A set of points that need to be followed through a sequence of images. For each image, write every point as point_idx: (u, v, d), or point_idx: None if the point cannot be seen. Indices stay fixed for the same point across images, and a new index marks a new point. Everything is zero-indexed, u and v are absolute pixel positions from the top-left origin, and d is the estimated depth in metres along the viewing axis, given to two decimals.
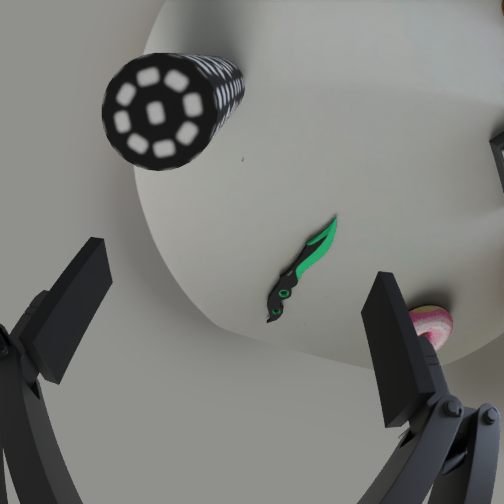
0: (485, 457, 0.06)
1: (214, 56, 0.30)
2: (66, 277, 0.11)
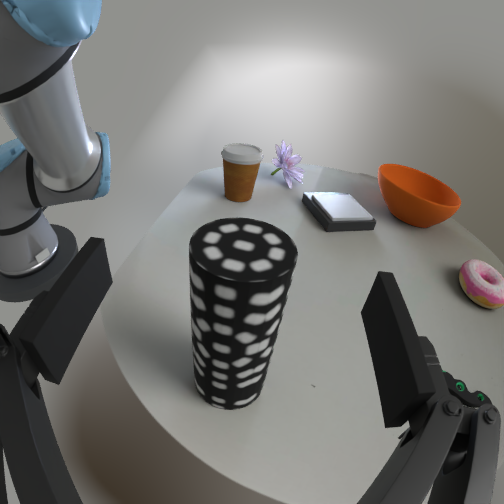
0: (485, 457, 0.06)
1: None
2: (66, 277, 0.11)
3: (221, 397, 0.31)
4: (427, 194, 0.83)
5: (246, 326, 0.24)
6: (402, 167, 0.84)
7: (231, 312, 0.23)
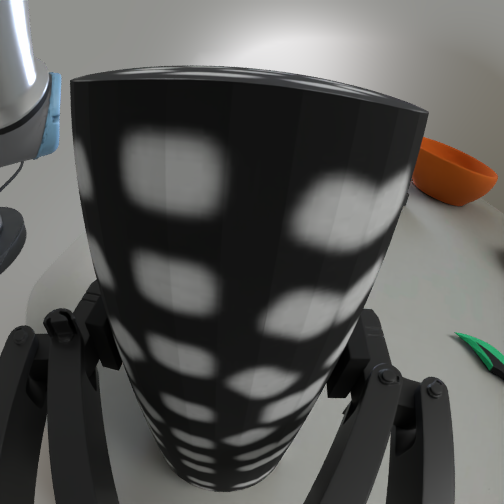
0: (437, 434, 0.07)
1: None
2: None
3: (206, 480, 0.13)
4: None
5: (271, 346, 0.06)
6: (425, 139, 0.68)
7: (203, 290, 0.05)
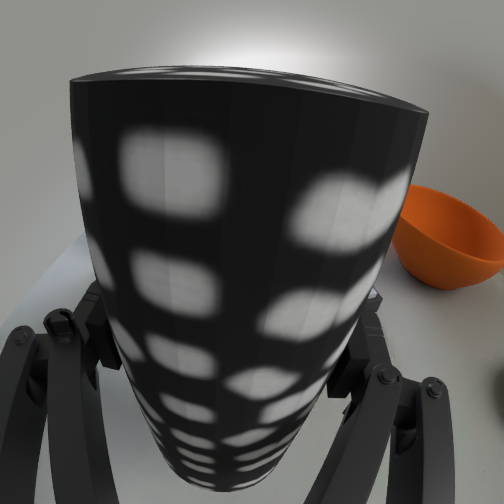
0: (437, 434, 0.07)
1: None
2: None
3: (206, 480, 0.13)
4: (455, 229, 0.53)
5: (270, 346, 0.06)
6: (418, 188, 0.54)
7: (203, 290, 0.05)
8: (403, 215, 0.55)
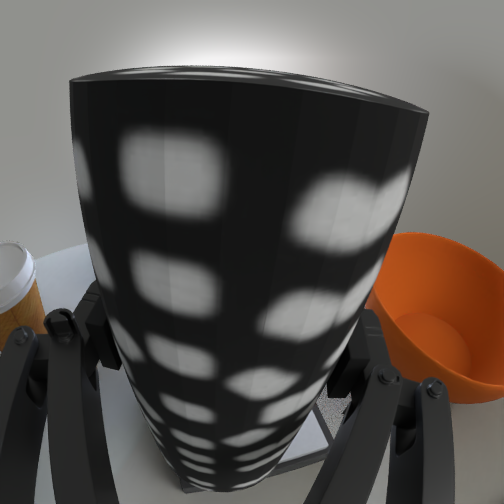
0: (437, 434, 0.07)
1: None
2: None
3: (206, 480, 0.13)
4: (468, 292, 0.37)
5: (271, 346, 0.06)
6: (421, 237, 0.38)
7: (203, 290, 0.05)
8: (396, 278, 0.38)
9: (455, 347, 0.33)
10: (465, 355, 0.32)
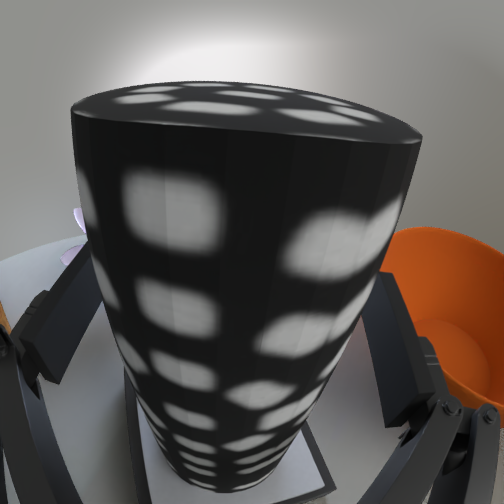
0: (485, 457, 0.06)
1: None
2: (66, 277, 0.11)
3: (207, 482, 0.13)
4: (486, 296, 0.31)
5: (267, 363, 0.06)
6: (435, 232, 0.32)
7: (204, 315, 0.05)
8: (408, 279, 0.33)
9: (473, 359, 0.27)
10: (484, 367, 0.26)
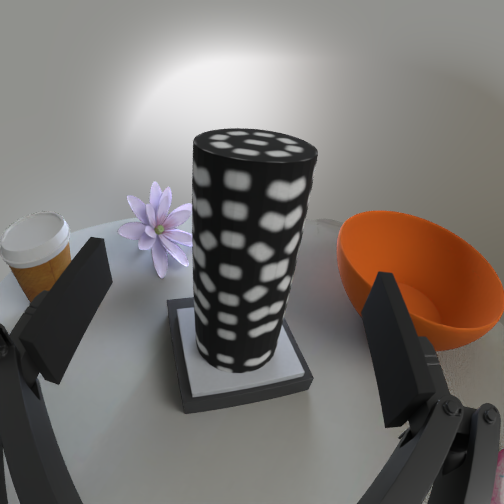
0: (485, 457, 0.06)
1: None
2: (66, 277, 0.11)
3: (229, 354, 0.26)
4: (438, 264, 0.44)
5: (263, 232, 0.19)
6: (392, 215, 0.46)
7: (244, 211, 0.19)
8: (371, 250, 0.46)
9: (425, 310, 0.40)
10: (435, 318, 0.39)
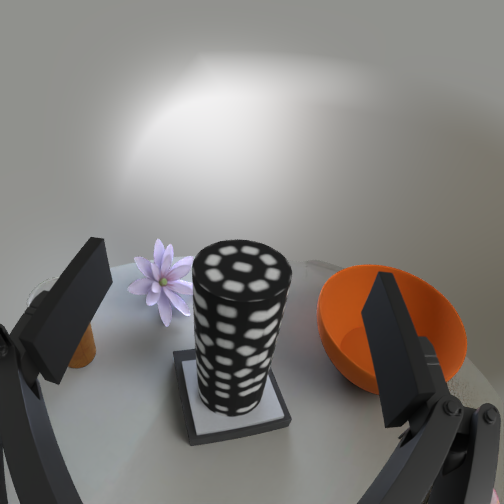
0: (485, 457, 0.06)
1: None
2: (66, 277, 0.11)
3: (224, 405, 0.33)
4: (413, 311, 0.50)
5: (247, 340, 0.26)
6: (372, 268, 0.52)
7: (232, 329, 0.25)
8: (351, 299, 0.52)
9: None
10: None
